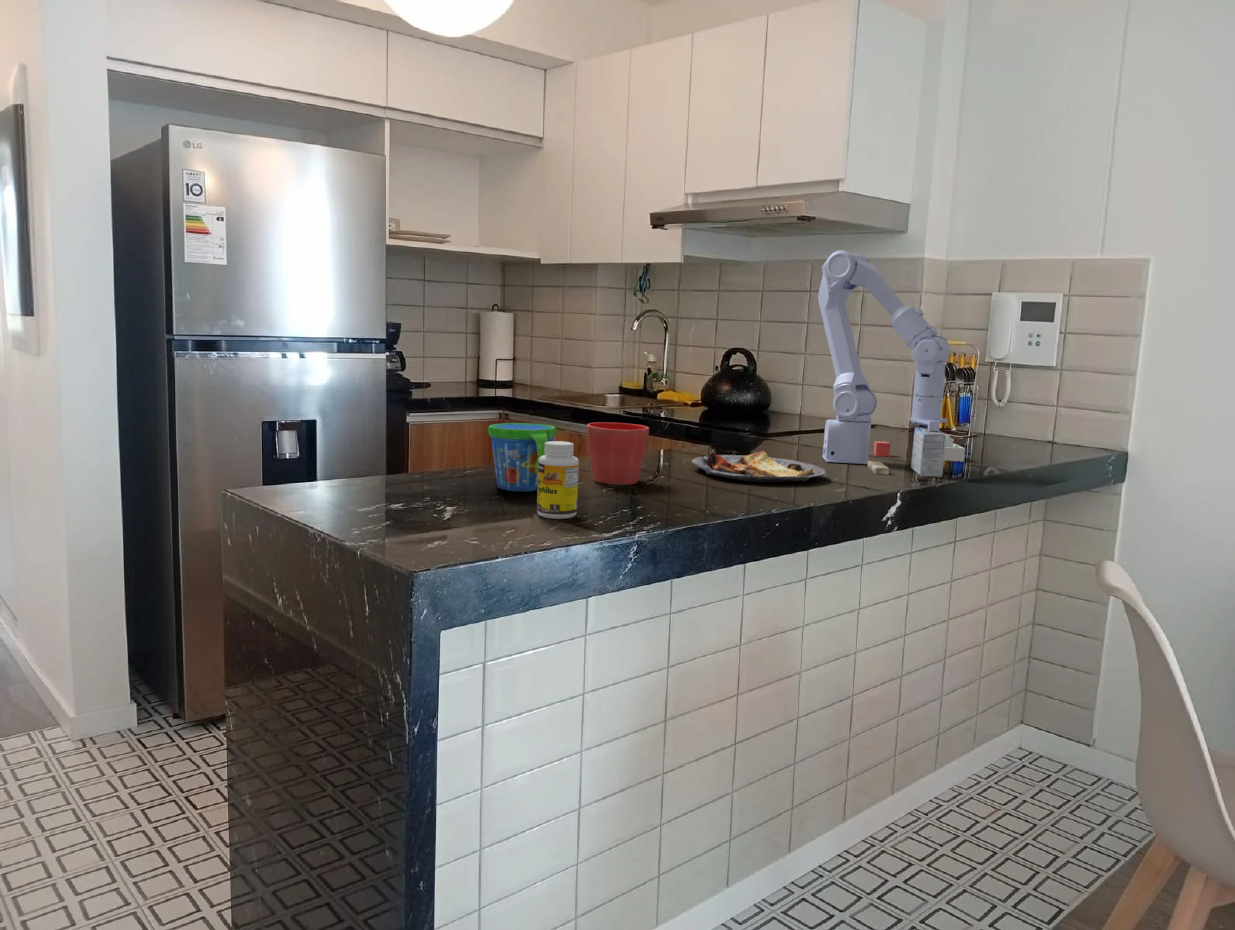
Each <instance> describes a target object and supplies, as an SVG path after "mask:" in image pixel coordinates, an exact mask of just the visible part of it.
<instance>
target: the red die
mask: <svg viewBox="0 0 1235 930" xmlns="http://www.w3.org/2000/svg"><path fill="white" fill-rule="evenodd" d="M890 454H891V442H889V441H880V440H879V441H878V440H875V441H874V444H873V455H874V456H875V457H888V458H890Z"/></svg>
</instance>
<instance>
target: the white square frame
mask: <svg viewBox="0 0 1235 930" xmlns="http://www.w3.org/2000/svg"><path fill="white" fill-rule="evenodd" d="M965 456H966V448H965V447H963V446H961V445H959V444H956V443H953V447H945V453H944V462H958V463H959V461H960V463H961V462H962V463H964V462H965Z"/></svg>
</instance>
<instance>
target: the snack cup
mask: <svg viewBox="0 0 1235 930" xmlns="http://www.w3.org/2000/svg"><path fill="white" fill-rule="evenodd" d="M487 433H488V435H489V437H490V439H491V445H492V454H493V462H494V471H495V478H496V485H497V488H499V489H500V490H503V491H509V492H525V493H526V492H537V490H538V462H539V458H540V457H541V456H543V455H546V454H545V453H544V452H545V451H544V449H545V442H550V441H554V440H555V437H556V435H557V428H556V427H555V426H554V425H551V424H550V425H548V424H543V423H542V424H541V423H527V422H526V423H525V422H522V423H521V422H518V423H517V422H511V423H509V422H507V423H503V422H502V423H495V424H490V425H489V426H488V427H487Z"/></svg>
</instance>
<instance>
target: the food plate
mask: <svg viewBox="0 0 1235 930" xmlns="http://www.w3.org/2000/svg"><path fill="white" fill-rule="evenodd" d="M706 454H707V455H706V456H705V455H704V456H697V457H695V458H693V459H691V461H690V463H691V464H693V465H695V466H696V467H698V468H700V469H702V470H703V471H705V473H706V475H710V476H717V477H721V478H726V479H730V480H731V479H733V480H738V481H744V482H752V483H753V482H755V483H756V482H757V483H789V482H790V481H791V482H792V481H793V482H799V481H801V482H802V481H803V482H806V481H808V480H809V479H811V478H814V477H817V476H822V475H824V474H826V470H825V469H824V468H823V467H822V466H820V465H817V464H814V463H811V462H803V461H802V462H801V461H799V460H792V459H787V458H776V457H772V456H768V454H767V452H766V450H761V451H758V452H753V453H750V454H747V455H744V454H743V455H741V454H738V455H736V454H733V455H732V454H716V453H715V452H713V451H710V452H707V453H706Z"/></svg>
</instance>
